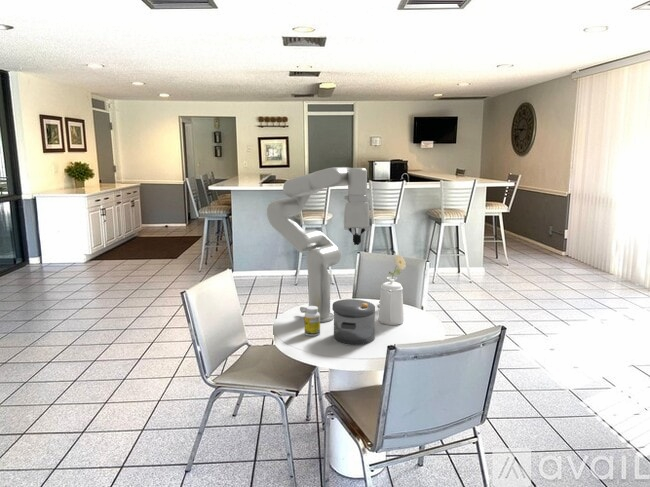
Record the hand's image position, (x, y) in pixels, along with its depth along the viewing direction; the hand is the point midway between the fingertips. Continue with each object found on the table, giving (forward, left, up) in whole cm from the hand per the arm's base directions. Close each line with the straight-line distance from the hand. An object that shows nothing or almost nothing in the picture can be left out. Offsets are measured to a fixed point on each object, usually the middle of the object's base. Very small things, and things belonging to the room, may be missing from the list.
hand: (356, 244), depth 192 cm
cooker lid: (+2, -12, -24) cm, 27 cm away
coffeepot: (+13, +10, -35) cm, 39 cm away
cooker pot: (+2, -12, -35) cm, 37 cm away
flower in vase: (+10, +33, -35) cm, 49 cm away
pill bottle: (-15, -13, -35) cm, 40 cm away
